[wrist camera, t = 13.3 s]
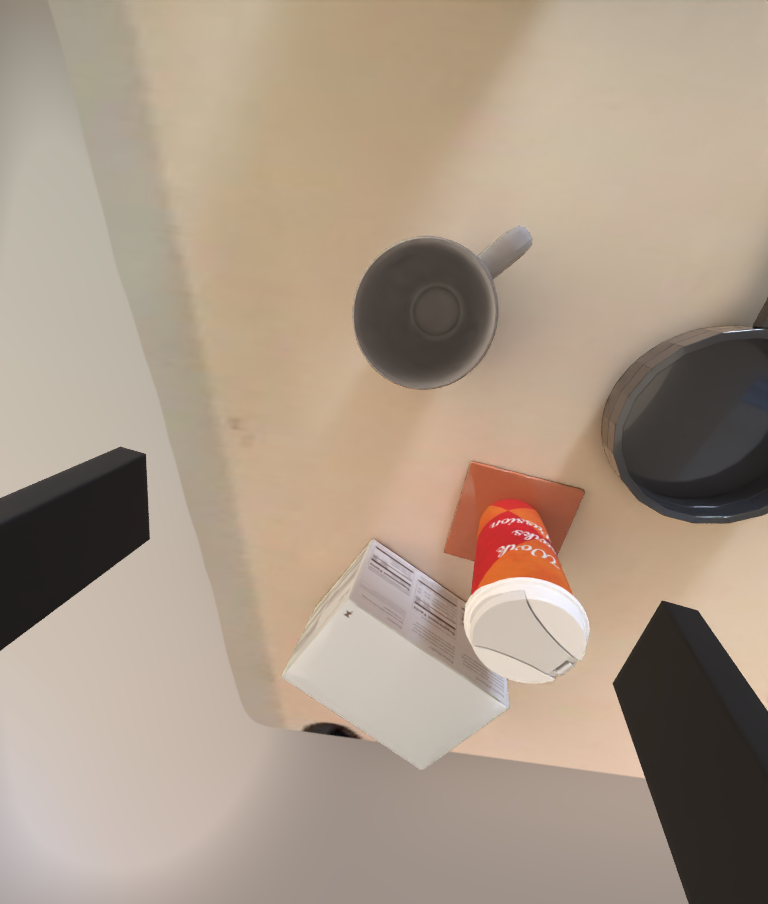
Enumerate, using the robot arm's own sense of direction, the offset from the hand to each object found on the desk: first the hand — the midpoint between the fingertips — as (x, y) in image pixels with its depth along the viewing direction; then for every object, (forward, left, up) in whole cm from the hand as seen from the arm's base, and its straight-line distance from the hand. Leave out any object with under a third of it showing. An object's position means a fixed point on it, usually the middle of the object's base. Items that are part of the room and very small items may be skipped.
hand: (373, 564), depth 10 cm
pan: (-1, +20, -27) cm, 33 cm away
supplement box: (+27, +2, -27) cm, 38 cm away
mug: (-6, -1, -27) cm, 28 cm away
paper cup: (+12, +9, -26) cm, 30 cm away
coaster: (+12, +9, -27) cm, 31 cm away
